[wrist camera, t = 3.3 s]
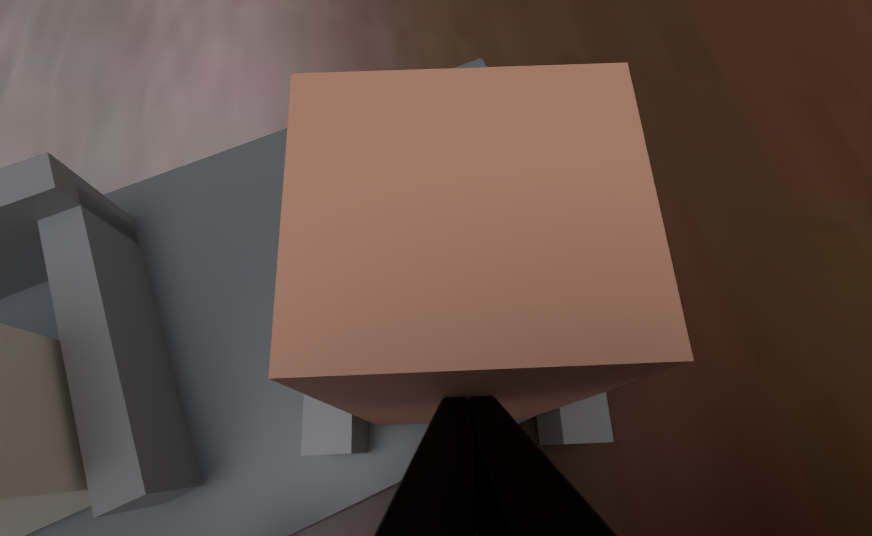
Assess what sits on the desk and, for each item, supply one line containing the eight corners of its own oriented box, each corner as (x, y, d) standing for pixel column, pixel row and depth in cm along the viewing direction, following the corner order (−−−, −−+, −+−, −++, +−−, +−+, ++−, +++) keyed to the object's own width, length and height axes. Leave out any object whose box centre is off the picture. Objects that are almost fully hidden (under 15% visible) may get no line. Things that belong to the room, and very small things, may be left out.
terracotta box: (528, 418, 15) (694, 361, 5) (376, 424, 15) (268, 378, 5) (515, 290, 16) (626, 62, 7) (376, 295, 16) (291, 73, 7)
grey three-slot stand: (676, 392, 16) (767, 370, 11) (-734, 1101, 11) (-1538, 1548, 6) (480, 68, 20) (491, -35, 16) (-576, 454, 15) (-981, 456, 11)
